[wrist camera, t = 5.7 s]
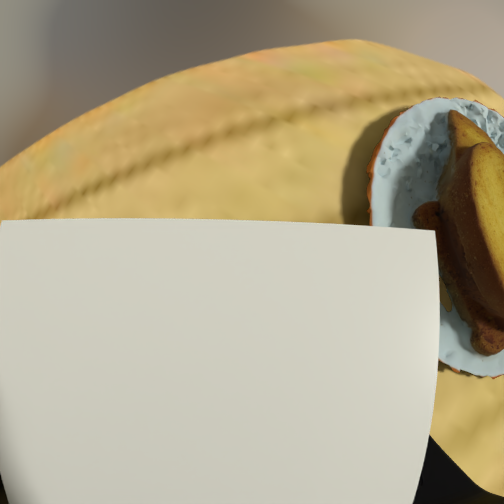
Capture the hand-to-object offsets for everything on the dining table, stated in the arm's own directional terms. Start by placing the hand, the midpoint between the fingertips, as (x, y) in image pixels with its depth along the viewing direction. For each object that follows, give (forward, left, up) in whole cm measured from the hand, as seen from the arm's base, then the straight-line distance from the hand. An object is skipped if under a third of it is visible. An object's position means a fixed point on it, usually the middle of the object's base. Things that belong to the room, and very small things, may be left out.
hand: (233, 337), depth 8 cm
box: (-1, -1, -6) cm, 6 cm away
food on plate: (+20, -9, -13) cm, 25 cm away
